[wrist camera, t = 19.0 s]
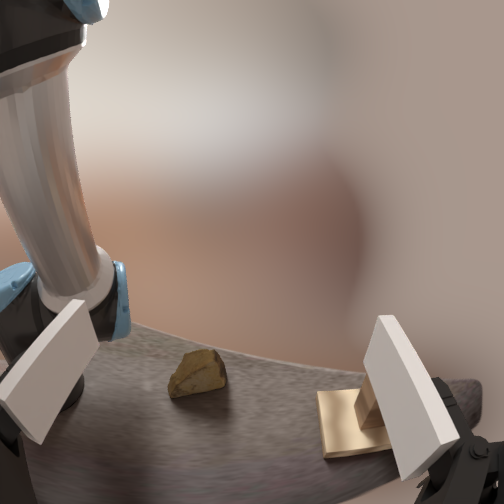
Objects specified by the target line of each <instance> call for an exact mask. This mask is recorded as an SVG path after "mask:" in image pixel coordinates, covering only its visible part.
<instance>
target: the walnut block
mask: <svg viewBox="0 0 504 504" xmlns="http://www.w3.org/2000/svg"><path fill="white" fill-rule="evenodd" d="M354 409H355V413H356V417H357V421H358V425H359V429H360V430H363V429H370V428H376V427H383V426H385V423H384V420H383V417H382V414H381V411H380V408H379V405H378V402H377V399H376V396H375V393H374V390H373V388H372V385H371V382H370V379H369V376H368V374H366V377H365V379H364V382H363V384H362V387H361V389H360V392H359V394H358V396H357V399H356V401H355V403H354Z"/></svg>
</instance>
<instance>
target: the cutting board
mask: <svg viewBox="0 0 504 504" xmlns="http://www.w3.org/2000/svg"><path fill="white" fill-rule="evenodd" d="M359 392H360V389H351V390H338V391H318V392H317V395H316V406H317V413H318V420H319V427H320V435H321V442H322V450H323V458H334V457H343V456H351V455H358V454H364V453H370V452H376V451H381V450H387V449H391V448H392V445H391V442H390V439H389V436H388V432H387V429H386V426H383V427H376V428H370V429H363V430H360V429H359V425H358V421H357V417H356V413H355V409H354V403H355V401H356V399H357V396H358V394H359Z"/></svg>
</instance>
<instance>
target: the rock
mask: <svg viewBox="0 0 504 504" xmlns="http://www.w3.org/2000/svg"><path fill="white" fill-rule="evenodd" d="M226 379H227V375H226V369H225V365H224V362H223V361H222V359H221V358H220V355H219V354H218V353H217V352H216V351H215V350H208V349H199V350H196V351H192V352H190V353H186V354H184V356H183V360H182V362H181V363H180V365H179V366H178V368H177V370H176V372H175V373H174V374H172V375H171V377H170V382H169V384H168V392H169V396H170V398H177V397H181V396H185V395H191V394H194V393H202V392H206V391H210V390H214V389H219V388H222V387H224V386H225V382H226Z"/></svg>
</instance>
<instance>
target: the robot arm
mask: <svg viewBox="0 0 504 504" xmlns="http://www.w3.org/2000/svg"><path fill="white" fill-rule="evenodd" d="M108 6H109V0H0V197H1V200H2V203H3V204H4V207H5V210H6V212H7V215H8V217H9V219H10V221H11V224H12V226H13V228H14V230H15V232H16V234H17V236H18V238H19V240H20V242H21V244H22V246H23V248H24V250H25V252H26V254H27V256H28V258H29V260H30V261H31V263H30V262H29V263H28V262H21V263H18V264H15V265H13V266H10V267H8V268H6V269H4V270H2V271H0V350H1V351H2V353H3V355H4V357H5V359H6V361H7V363H8V364H9V366H8V368H7V369H6V371H4V373H3V374H2V375H1V376H0V504H38V503H37V500H36V497H35V494H34V490H33V487H32V483H31V479H30V475H29V471H28V467H27V462H26V457H25V452H24V447H23V441H22V438H21V435H20V434H19V433H20V431H21V430H22V432H23V433H24V434H25V435H26V436H27V437H28V438H29V439H31V440H33V441H34V442H36V443H38V444H40V445H41V444H42V442H43V441H44V439H45V437H46V435H47V433H48V431H49V429H50V427H51V426H52V424H53V422H54V420H55V418H56V417H57V415H58V413H59V412H61V411H63V410H65V409H67V408H68V407H70V406H71V405H72V404H73V403H74V402H75V401H76V400H77V399H78V397H79V396H80V394H81V392H82V390H83V386H84V376H83V371H84V370H85V368H86V366H87V365H88V363H89V362H90V360H91V359H92V357H93V355H94V354H95V352H96V351H97V349H98V348H99V346H100V345H99V342H103V341H108V342H112V341H113V340H115V339H120V338H125V337H127V336H128V335H129V334H130V332H131V319H130V311H129V302H128V301H129V299H128V290H127V280H126V270H125V266H124V264H123V263H122V262H117V261H111V258H110V257H109V255H108V254H107V253H106V252H105V251H104V250H103V249H102V248H100V247H99V246H97V245H95V242H94V238H93V234H92V231H91V227H90V223H89V219H88V215H87V211H86V207H85V202H84V198H83V193H82V189H81V184H80V179H79V173H78V168H77V162H76V156H75V151H74V150H75V149H74V142H73V135H72V127H71V117H70V105H69V91H68V65H69V63H70V62H71V61H72V59H73V58H74V57H75V56H76V54H77V53H78V52H79V51H80V50H81V49H82V48H83V47H84V45H85V44H86V33H87V24H90V25H93V23H96V22H98V21H100V20H102V19H103V18H104V17H105V15H106V14H107V10H108ZM36 272H37V273H36ZM363 363H364V365H365V368H366V371H367V374H368V376H369V379H370V382H371V385H372V388H373V390H374V393H375V396H376V399H377V402H378V405H379V408H380V411H381V414H382V417H383V420H384V423H385V426H386V429H387V432H388V436H389V439H390V442H391V445H392V449H393V452H394V455H395V459H396V462H397V466H398V469H399V473H400V477H401V480H402V482H403V481H406V480H409V479H413V478H416V477H419V476H420V475H422V474H423V473H424V472H425V471H426V470H427V469H428V472H429V476H428V477H426V478H425V479H424V480H423V481H421V482H420V483H419V484H418V486H417V488H420V487H421V486H422V485H423V484H424V485H423V487H422V489H421V492H420V493H419V495H418V498H417V499H416V501H415V503H414V504H504V441H502V442H493V443H488V442H487V440H486V439H484V438H482V437H481V436H474V435H473V433H472V431H471V429H470V427H469V425H468V423H467V421H466V419H465V417H464V415H463V413H462V411H461V409H460V407H459V406H458V405H457V402H456V400H455V398H454V397H453V394H452V393H451V391H450V389H449V387H448V385H447V384H446V383H444V382H443V381H442V380H441V379H440V378H439V377H436V378H430V376H429V375H428V373H427V371H426V369H425V367H424V366H423V364H422V362H421V360H420V358H419V357H418V355H417V353H416V351H415V350H414V348H413V346H412V345H411V343H410V341H409V340H408V338H407V336H406V335H405V333H404V331H403V330H402V328H401V327H400V325H399V323H398V322H397V320H396V318H395V317H394V315H382V316H378V318H377V322H376V325H375V328H374V332H373V334H372V337H371V341H370V344H369V347H368V350H367V352H366V355H365V358H364V361H363ZM496 481H498V487H497V486H496Z"/></svg>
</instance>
